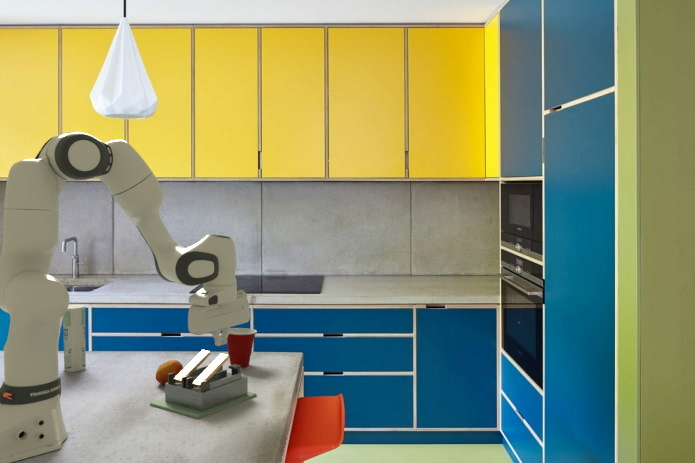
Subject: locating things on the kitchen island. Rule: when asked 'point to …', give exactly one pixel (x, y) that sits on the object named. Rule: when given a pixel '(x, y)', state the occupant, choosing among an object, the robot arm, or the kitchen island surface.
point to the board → (195, 413)
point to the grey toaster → (207, 389)
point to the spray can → (74, 338)
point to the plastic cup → (240, 345)
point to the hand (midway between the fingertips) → (221, 344)
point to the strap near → (210, 370)
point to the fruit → (168, 370)
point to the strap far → (192, 365)
